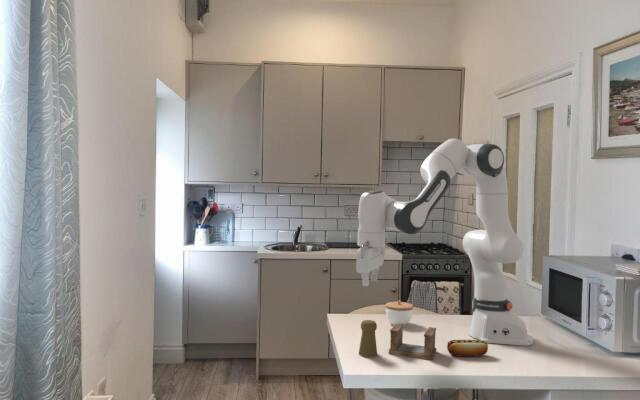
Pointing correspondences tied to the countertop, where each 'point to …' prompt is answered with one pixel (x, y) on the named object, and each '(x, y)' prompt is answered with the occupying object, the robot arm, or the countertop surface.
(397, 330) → the holder
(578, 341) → the countertop surface
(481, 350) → the hot dog
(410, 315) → the lidded jar
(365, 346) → the olive green bulbous cylinder
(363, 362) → the countertop surface
